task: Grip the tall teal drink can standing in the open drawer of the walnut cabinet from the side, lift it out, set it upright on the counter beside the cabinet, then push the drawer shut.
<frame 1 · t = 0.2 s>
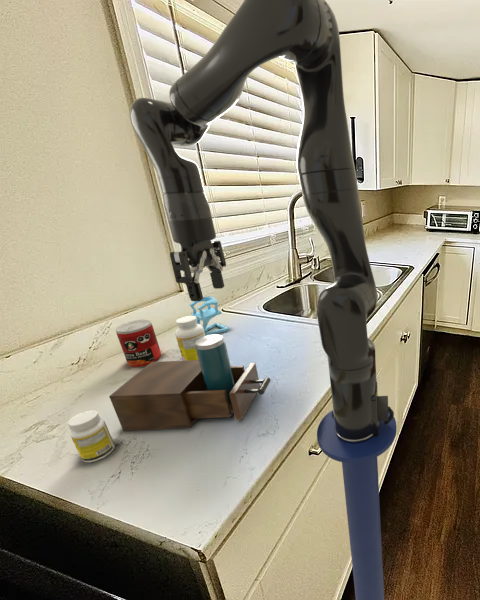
hand: (209, 294, 70), 25 cm above the worktop, tool pointing down, fingers open, 8 cm apart
drawer: (229, 390, 72), point 4 cm above the worktop, slide at 9.0 cm, touching can
canned food: (145, 360, 93), on the worktop
can: (224, 399, 73), point 2 cm above the worktop, touching drawer
chair: (210, 332, 109), on the worktop
supplement bottle: (99, 453, 61), on the worktop
supplement bottle 2: (197, 360, 92), on the worktop
cabinet: (175, 408, 73), on the worktop
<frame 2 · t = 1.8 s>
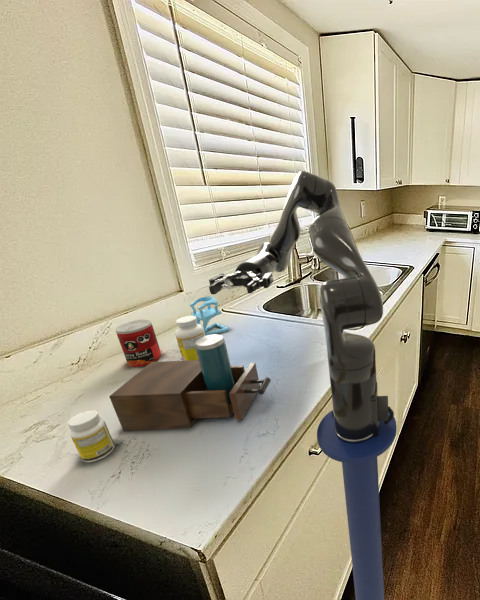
hand: (230, 290, 77), 23 cm above the worktop, tool horizontal, fingers open, 8 cm apart
nothing on the worktop moved.
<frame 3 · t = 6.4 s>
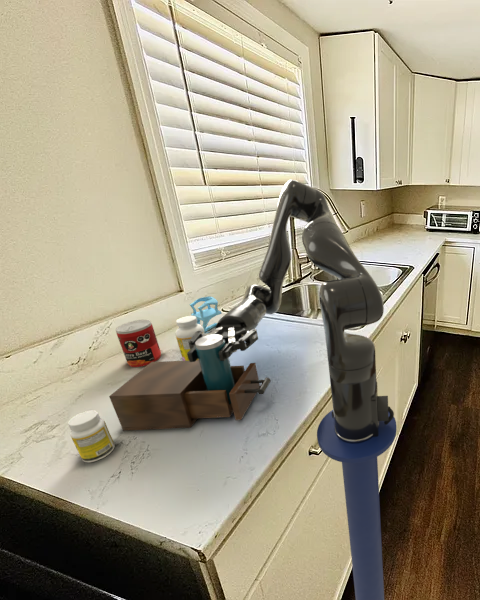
hand: (206, 357, 66), 14 cm above the worktop, tool horizontal, fingers closed on can, 5 cm apart
can: (224, 399, 73), point 2 cm above the worktop, touching drawer, gripper
everything else where it was.
when the fingers open (12 cm above the worktop, at t = 13.5 s): can stays where it is, on the worktop.
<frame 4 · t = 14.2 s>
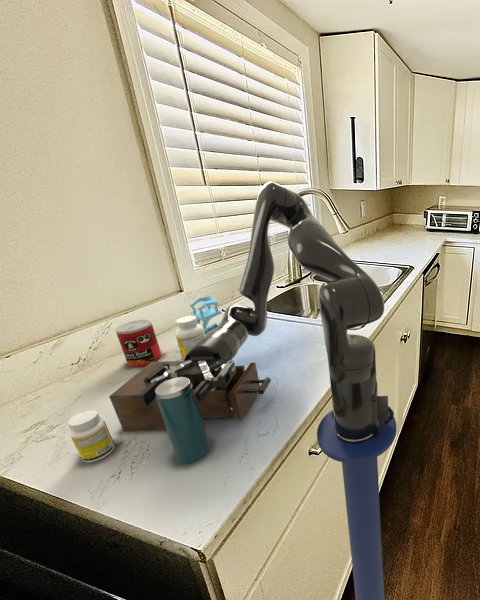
hand: (168, 400, 55), 13 cm above the worktop, tool horizontal, fingers open, 8 cm apart
drawer: (229, 390, 72), point 4 cm above the worktop, slide at 9.0 cm
can: (193, 452, 61), on the worktop
everything else where it was.
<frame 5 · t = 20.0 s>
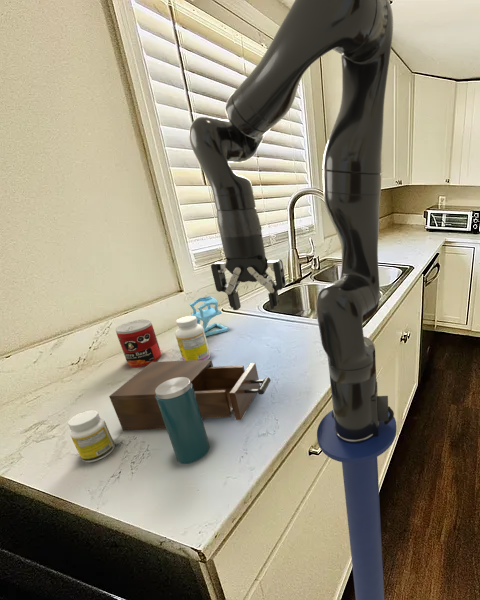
hand: (255, 308, 71), 22 cm above the worktop, tool pointing down, fingers open, 7 cm apart
nothing on the worktop moved.
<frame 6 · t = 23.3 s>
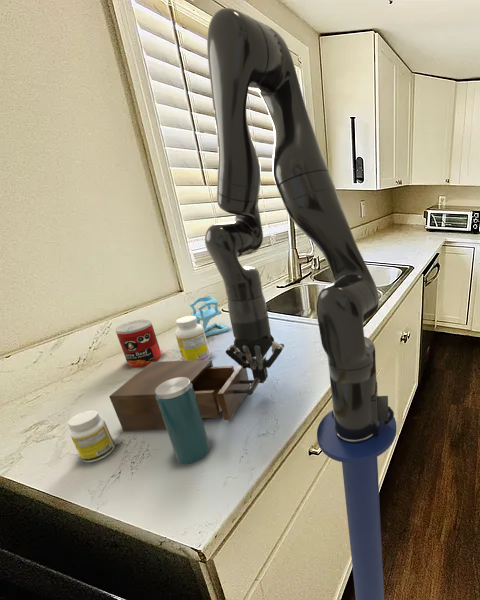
hand: (261, 381, 77), 3 cm above the worktop, tool pointing down, fingers closed
drawer: (218, 390, 72), point 4 cm above the worktop, slide at 6.6 cm, touching hand
everything else where it was.
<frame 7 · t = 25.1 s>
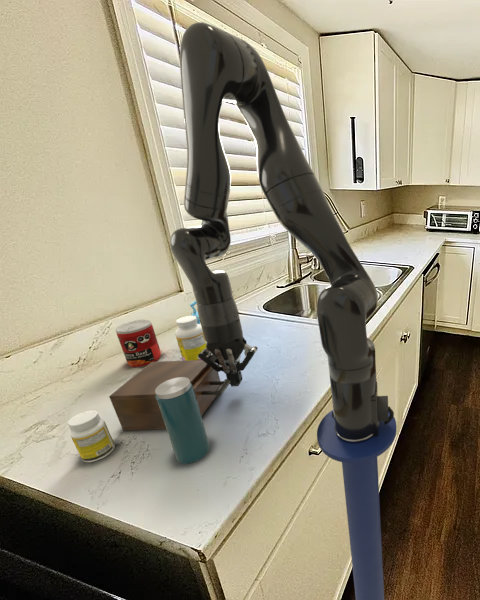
hand: (236, 384, 77), 2 cm above the worktop, tool pointing down, fingers closed
drawer: (188, 392, 71), point 4 cm above the worktop, slide at 0.0 cm, touching cabinet, hand
everything else where it was.
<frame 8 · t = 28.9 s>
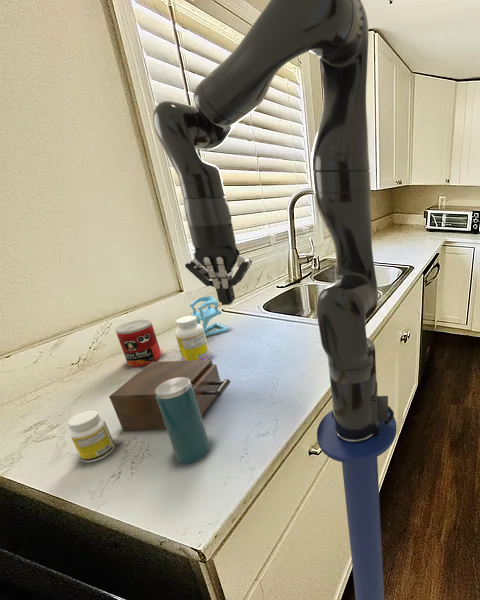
hand: (227, 303, 70), 23 cm above the worktop, tool pointing down, fingers closed
drawer: (188, 392, 71), point 4 cm above the worktop, slide at 0.0 cm, touching cabinet
everything else where it was.
at the end: can inside the target area (0.1 cm from its centre), on the worktop; can tilted 0°; drawer slide at 0.0 cm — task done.
